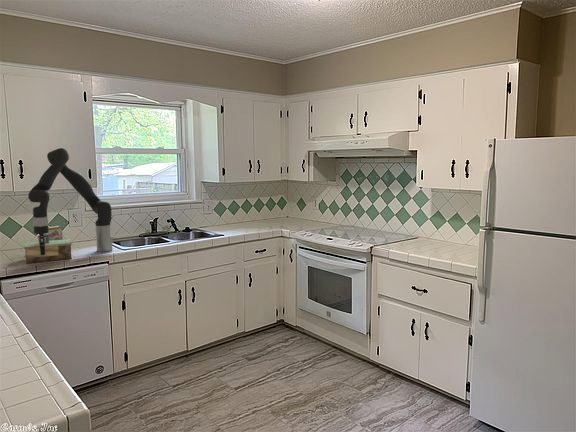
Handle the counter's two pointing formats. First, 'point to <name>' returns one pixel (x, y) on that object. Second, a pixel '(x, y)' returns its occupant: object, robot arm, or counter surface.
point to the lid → (50, 242)
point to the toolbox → (63, 254)
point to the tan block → (35, 252)
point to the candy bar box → (55, 233)
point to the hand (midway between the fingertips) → (42, 254)
